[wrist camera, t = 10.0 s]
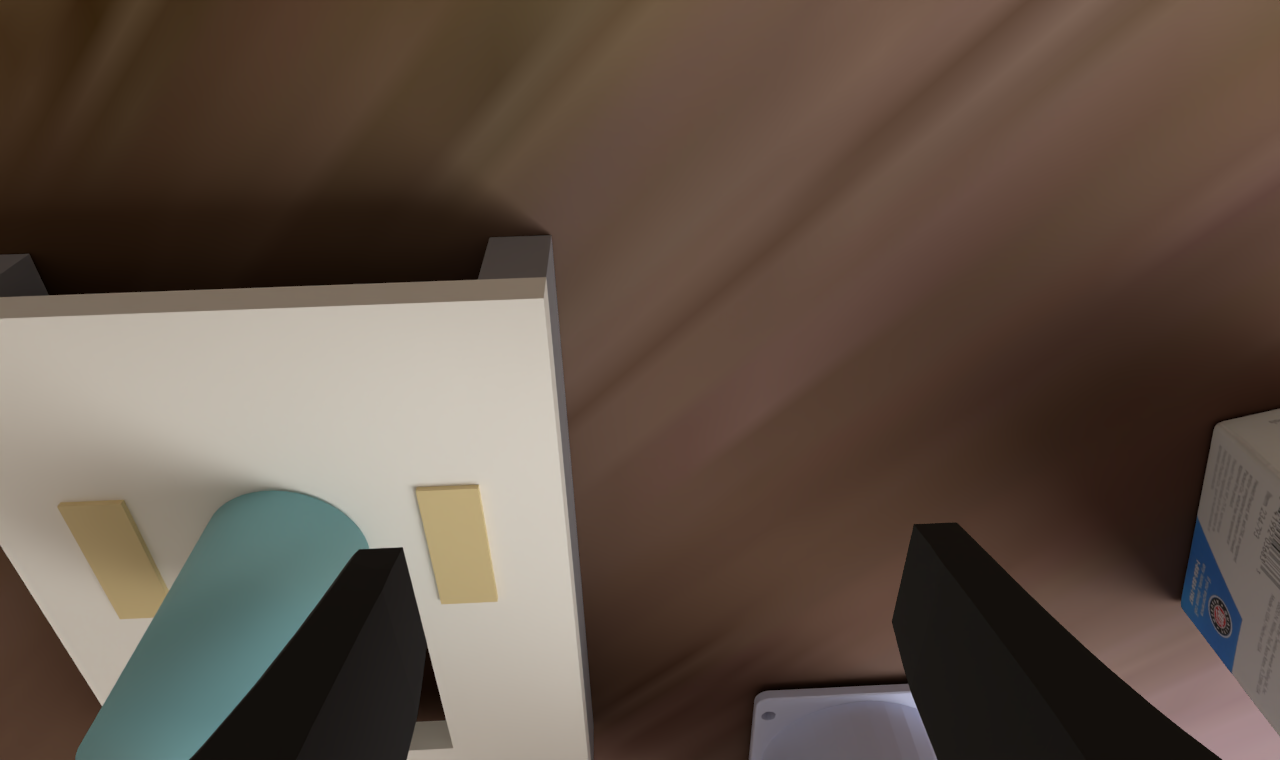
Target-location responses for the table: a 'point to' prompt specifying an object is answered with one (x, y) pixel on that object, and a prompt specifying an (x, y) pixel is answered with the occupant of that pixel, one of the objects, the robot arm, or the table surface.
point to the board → (312, 467)
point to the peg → (222, 623)
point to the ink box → (1241, 556)
